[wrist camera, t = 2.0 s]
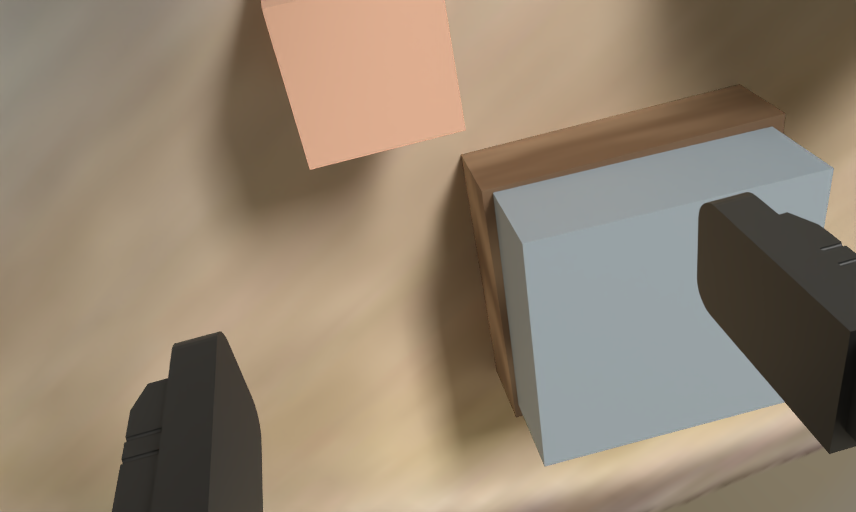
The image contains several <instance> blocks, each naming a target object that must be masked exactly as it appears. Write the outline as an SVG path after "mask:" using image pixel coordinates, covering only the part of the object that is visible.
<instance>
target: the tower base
mask: <svg viewBox="0 0 856 512" xmlns="http://www.w3.org/2000/svg"><path fill="white" fill-rule="evenodd" d="M785 114H786V113H784V112H782V111H781V110H779V109H778V108H776V107H775V106H773V105H771V104H770V103H768V102H767V101H765V100H764V99H762V98H760V97H759V96H757V95H756V94H754V93H753V92H751V91H749V90H748V89H746V88H745V87H743V86H742V85H740V84H739V85H735V86H731V87H727V88H723V89H719V90H715V91H711V92H707V93H703V94H699V95H695V96H691V97H687V98H683V99H679V100H675V101H671V102H667V103H663V104H659V105H655V106H652V107H648V108H644V109H640V110H636V111H632V112H628V113H624V114H620V115H616V116H612V117H608V118H604V119H600V120H596V121H592V122H588V123H584V124H580V125H576V126H572V127H568V128H565V129H561V130H557V131H553V132H549V133H545V134H541V135H537V136H533V137H529V138H525V139H521V140H517V141H513V142H509V143H505V144H501V145H497V146H493V147H489V148H485V149H481V150H477V151H474V152H470V153H466V154H462V155H461V157H462V163H463V169H464V175H465V181H466V187H467V193H468V199H469V206H470V212H471V218H472V224H473V230H474V236H475V242H476V248H477V254H478V260H479V266H480V272H481V278H482V284H483V290H484V297H485V303H486V309H487V315H488V321H489V327H490V333H491V339H492V345H493V351H494V357H495V363H496V369H497V373H498V375H499V377H500V380H501V382H502V385H503V387H504V389H505V392H506V394H507V397H508V399H509V401H510V404H511V406H512V408H513V411H514V413H515V416H516V417H519V416H523V414H522V412H521V410H520V407H519V405H518V397H517V389H516V380H515V372H514V364H513V356H512V347H511V339H510V331H509V322H508V314H507V306H506V298H505V289H504V281H503V273H502V264H501V256H500V248H499V240H498V231H497V223H496V215H495V206H494V198H493V193H494V192H498V191H502V190H506V189H510V188H515V187H519V186H523V185H527V184H531V183H536V182H540V181H544V180H548V179H552V178H557V177H561V176H565V175H569V174H573V173H578V172H582V171H586V170H590V169H594V168H599V167H603V166H607V165H611V164H615V163H620V162H624V161H628V160H632V159H636V158H641V157H645V156H649V155H653V154H658V153H662V152H666V151H670V150H675V149H679V148H683V147H687V146H691V145H696V144H700V143H704V142H708V141H713V140H717V139H721V138H725V137H729V136H734V135H738V134H742V133H746V132H751V131H755V130H759V129H763V128H768V127H774V128H775V129H777V130H778V131H780V132H781V133H783V134H784V124H785Z"/></svg>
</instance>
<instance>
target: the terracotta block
mask: <svg viewBox="0 0 856 512" xmlns="http://www.w3.org/2000/svg"><path fill="white" fill-rule="evenodd" d="M261 6H262V11H263V15H264V18H265V21H266V25H267V28H268V32H269V35H270V38H271V42H272V45H273V48H274V52H275V55H276V58H277V62H278V65H279V68H280V72H281V75H282V78H283V82H284V85H285V88H286V92H287V95H288V99H289V102H290V105H291V109H292V112H293V115H294V119H295V122H296V125H297V129H298V132H299V135H300V139H301V142H302V145H303V149H304V152H305V155H306V159H307V162H308V165H309V169H310V170H311V169H315V168H319V167H323V166H327V165H331V164H335V163H339V162H343V161H347V160H351V159H355V158H359V157H363V156H367V155H370V154H374V153H378V152H382V151H386V150H390V149H394V148H398V147H402V146H406V145H410V144H414V143H418V142H422V141H426V140H429V139H433V138H437V137H441V136H445V135H449V134H453V133H457V132H461V131H465V130H466V129H465V123H464V117H463V110H462V104H461V98H460V92H459V86H458V80H457V73H456V67H455V61H454V55H453V49H452V42H451V36H450V30H449V24H448V18H447V12H446V5H445V0H261Z"/></svg>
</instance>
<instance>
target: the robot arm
mask: <svg viewBox="0 0 856 512" xmlns="http://www.w3.org/2000/svg"><path fill="white" fill-rule="evenodd" d="M697 285H698V290H699V294H700V297H701V300H702V302H703V304H704V306H705V308H706V310H707V311H708V313H709V314H710V315H711V317H712V318H713V319H714V320H715V321H716V322H717V324H718V325H719V326H720V327H721V328H722V329H723V331H724V332H725V333H726V334H727V335H728V336H729V338H730V339H731V340H732V341H733V342H734V343H735V345H736V346H737V347H738V348H739V349H740V350H741V352H742V353H743V354H744V355H745V356H746V357H747V359H748V360H749V361H750V362H751V363H752V364H753V366H754V367H755V368H756V369H757V370H758V371H759V373H760V374H761V375H762V376H763V377H764V378H765V380H766V381H767V382H768V383H769V384H770V385H771V387H772V388H773V389H774V390H775V391H776V392H777V394H778V395H779V396H780V397H781V398H782V399H783V401H784V402H785V403H786V404H787V405H788V406H789V408H790V409H791V410H792V411H793V412H794V413H795V415H796V416H797V417H798V418H799V419H800V420H801V422H802V423H803V424H804V425H805V426H806V427H807V428H808V430H809V431H810V432H811V433H812V434H813V435H814V437H815V438H816V439H817V440H818V441H819V442H820V444H821V445H822V446H823V447H824V448H825V449H826V451H827V452H828V453H829V454H831V453H834V452H837V451H841V450H844V449H848V448H851V447H854V446H856V253H855V252H853V251H852V250H851V249H850V248H848V247H847V246H842V243H841V241H839V240H838V239H837V238H835V237H834V236H833V235H832V234H830V233H829V232H828V231H827V230H825V229H824V228H823V227H821V226H820V225H819V224H816V223H814V222H811V221H809V220H806V219H804V218H801V217H798V216H796V215H793V214H791V213H788V212H786V213H783V214H778V213H776V212H775V211H774V210H773V209H772V208H770V207H769V206H768V205H767V204H766V203H764V202H763V201H762V200H761V199H759V198H758V197H757V196H756V195H754V194H753V193H750V192H745V193H741V194H737V195H733V196H730V197H726V198H722V199H718V200H715V201H711V202H707V203H704V204H703V205H702V206H701V208H700V210H699V216H698V251H697ZM126 440H127V442H125V443H124V448H123V454H122V462H123V464H122V465H120V470H119V476H118V481H117V487H116V492H115V498H114V503H113V509H112V512H263V493H262V448H261V430H260V424H259V419H258V415H257V411H256V407H255V404H254V401H253V399H252V396H251V394H250V392H249V389H248V387H247V385H246V382H245V380H244V378H243V375H242V373H241V371H240V368H239V366H238V364H237V361H236V359H235V357H234V354H233V352H232V350H231V347H230V345H229V343H228V341H227V339H226V337H225V335H224V334H223V333H222V332H216V333H213V334H209V335H205V336H201V337H198V338H194V339H190V340H186V341H183V342H179V343H175V344H174V345H173V347H172V353H171V361H170V369H169V376H168V378H167V379H164V380H160V381H156V382H153V383H149V384H147V386H146V387H145V389H144V391H143V392H142V394H141V395H140V397H139V398H138V400H137V401H136V403H135V404H134V406H133V407H132V409H131V410H130V416H129V421H128V427H127V432H126Z"/></svg>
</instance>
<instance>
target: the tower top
mask: <svg viewBox="0 0 856 512" xmlns="http://www.w3.org/2000/svg"><path fill="white" fill-rule="evenodd" d="M833 170H834V168H833V167H831V166H830V165H828V164H827V163H825V162H824V161H822V160H821V159H819V158H818V157H816V156H815V155H814V154H812V153H811V152H809V151H808V150H806V149H805V148H803V147H802V146H800V145H799V144H797V143H796V142H794V141H793V140H791V139H790V138H789V137H787V136H786V135H784V134H783V133H781V132H780V131H778V130H777V129H775V128H774V127H768V128H763V129H759V130H755V131H751V132H746V133H742V134H738V135H734V136H729V137H725V138H721V139H717V140H713V141H708V142H704V143H700V144H696V145H691V146H687V147H683V148H679V149H675V150H670V151H666V152H662V153H658V154H653V155H649V156H645V157H641V158H636V159H632V160H628V161H624V162H620V163H615V164H611V165H607V166H603V167H599V168H594V169H590V170H586V171H582V172H578V173H573V174H569V175H565V176H561V177H557V178H552V179H548V180H544V181H540V182H536V183H531V184H527V185H523V186H519V187H515V188H510V189H506V190H502V191H498V192H494V193H493V198H494V206H495V215H496V223H497V231H498V240H499V248H500V256H501V264H502V273H503V281H504V289H505V298H506V306H507V314H508V322H509V331H510V339H511V347H512V356H513V364H514V372H515V380H516V389H517V397H518V405H519V407H520V410H521V412H522V414H523V417H524V419H525V421H526V424H527V426H528V428H529V431H530V433H531V435H532V438H533V440H534V442H535V445H536V447H537V449H538V452H539V454H540V456H541V459H542V461H543V464H544V466H548V465H552V464H556V463H559V462H563V461H567V460H571V459H574V458H578V457H582V456H586V455H589V454H593V453H597V452H601V451H604V450H608V449H612V448H615V447H619V446H623V445H627V444H630V443H634V442H638V441H642V440H645V439H649V438H653V437H657V436H660V435H664V434H668V433H672V432H675V431H679V430H683V429H686V428H690V427H694V426H698V425H701V424H705V423H709V422H713V421H716V420H720V419H724V418H728V417H731V416H735V415H739V414H742V413H746V412H750V411H754V410H757V409H761V408H765V407H769V406H772V405H776V404H780V403H784V401H783V399H782V398H781V397H780V396H779V395H778V394H777V392H776V391H775V390H774V389H773V388H772V387H771V385H770V384H769V383H768V382H767V381H766V380H765V378H764V377H763V376H762V375H761V374H760V373H759V371H758V370H757V369H756V368H755V367H754V366H753V364H752V363H751V362H750V361H749V360H748V359H747V357H746V356H745V355H744V354H743V353H742V352H741V350H740V349H739V348H738V347H737V346H736V345H735V343H734V342H733V341H732V340H731V339H730V338H729V336H728V335H727V334H726V333H725V332H724V331H723V329H722V328H721V327H720V326H719V325H718V324H717V322H716V321H715V320H714V319H713V318H712V317H711V315H710V314H709V313H708V311H707V310H706V308H705V306H704V304H703V302H702V300H701V297H700V294H699V290H698V285H697V251H698V216H699V210H700V208H701V206H702V205H703V204H704V203H707V202H711V201H715V200H718V199H722V198H726V197H730V196H733V195H737V194H741V193H745V192H750V193H753V194H754V195H756V196H757V197H758V198H759V199H761V200H762V201H763V202H764V203H766V204H767V205H768V206H769V207H770V208H772V209H773V210H774V211H775V212H776V213H778V214H783V213H786V212H788V213H791V214H793V215H796V216H798V217H801V218H804V219H806V220H809V221H811V222H814V223H816V224H819V225H820V226H821V227H823V228H824V224H825V218H826V212H827V206H828V200H829V194H830V188H831V182H832V176H833Z"/></svg>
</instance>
